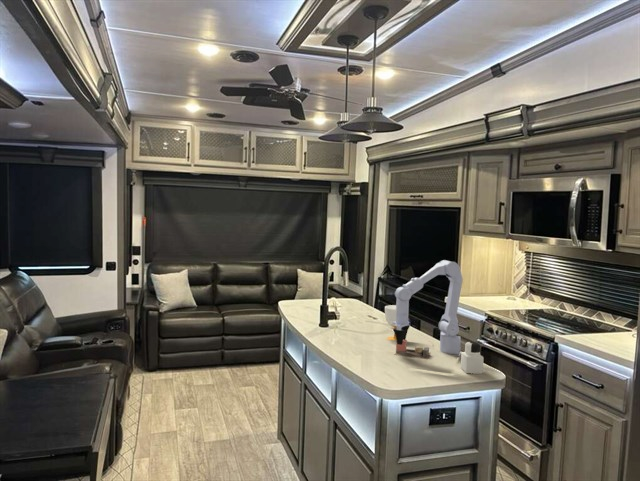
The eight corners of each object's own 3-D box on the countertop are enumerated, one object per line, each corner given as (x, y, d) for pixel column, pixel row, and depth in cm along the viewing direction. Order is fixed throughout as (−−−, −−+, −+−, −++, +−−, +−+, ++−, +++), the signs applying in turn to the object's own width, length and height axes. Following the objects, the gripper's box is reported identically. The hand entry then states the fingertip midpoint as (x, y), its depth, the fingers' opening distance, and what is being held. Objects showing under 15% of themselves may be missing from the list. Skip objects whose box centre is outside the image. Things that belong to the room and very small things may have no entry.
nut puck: (423, 353, 217) (423, 347, 217) (422, 356, 214) (422, 349, 214) (415, 353, 219) (415, 346, 218) (414, 355, 215) (414, 348, 215)
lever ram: (406, 351, 220) (406, 339, 220) (404, 353, 216) (405, 341, 216) (397, 350, 222) (398, 338, 222) (395, 352, 218) (396, 340, 217)
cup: (406, 343, 239) (407, 310, 239) (382, 341, 242) (384, 308, 241) (406, 337, 251) (407, 305, 250) (384, 335, 253) (385, 304, 252)
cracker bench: (430, 355, 220) (431, 346, 220) (427, 361, 210) (427, 352, 209) (398, 351, 225) (399, 342, 225) (393, 357, 215) (394, 348, 215)
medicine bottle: (476, 368, 202) (478, 340, 202) (483, 374, 195) (484, 345, 195) (460, 368, 202) (461, 340, 201) (466, 373, 195) (467, 345, 194)
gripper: (396, 309, 226) (395, 337, 227) (390, 315, 213) (389, 345, 214) (411, 311, 224) (410, 339, 225) (405, 316, 210) (405, 346, 211)
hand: (401, 342), depth 219 cm, fingers open, 7 cm apart
